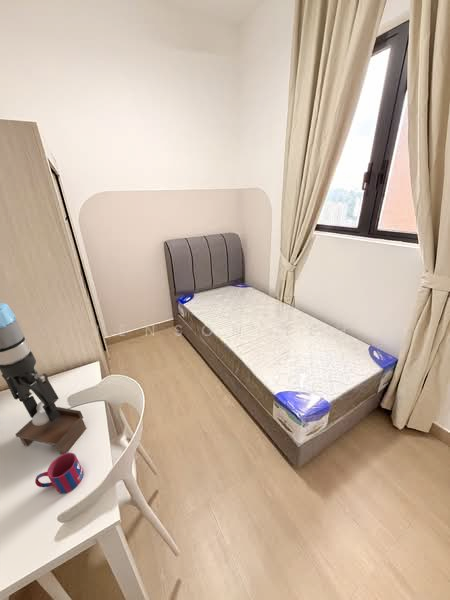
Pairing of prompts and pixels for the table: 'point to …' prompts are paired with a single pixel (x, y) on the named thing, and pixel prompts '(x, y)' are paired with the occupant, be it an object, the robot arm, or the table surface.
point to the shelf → (55, 430)
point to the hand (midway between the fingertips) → (45, 416)
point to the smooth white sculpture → (40, 415)
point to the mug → (63, 473)
